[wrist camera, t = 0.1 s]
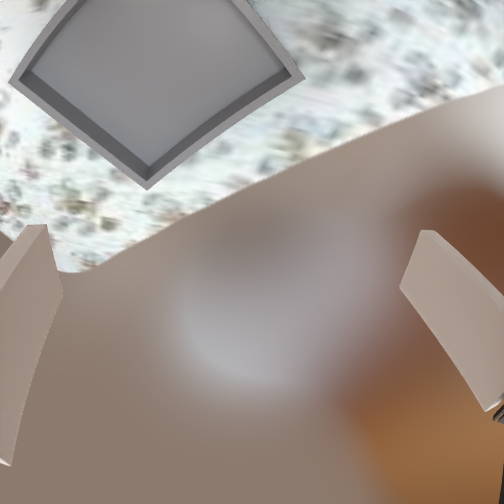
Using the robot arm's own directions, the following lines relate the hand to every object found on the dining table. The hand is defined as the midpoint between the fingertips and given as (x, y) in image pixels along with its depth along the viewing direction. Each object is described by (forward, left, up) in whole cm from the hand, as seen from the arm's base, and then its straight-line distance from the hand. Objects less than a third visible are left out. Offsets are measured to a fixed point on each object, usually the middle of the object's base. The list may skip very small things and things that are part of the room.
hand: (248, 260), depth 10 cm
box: (+6, -4, -28) cm, 28 cm away
